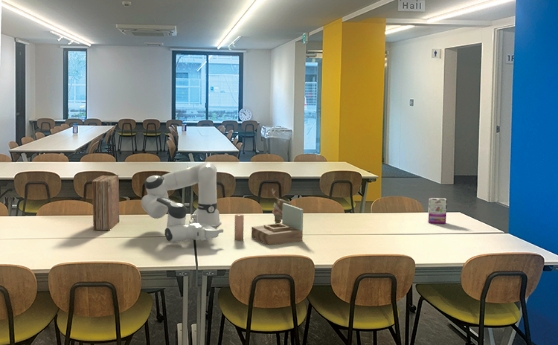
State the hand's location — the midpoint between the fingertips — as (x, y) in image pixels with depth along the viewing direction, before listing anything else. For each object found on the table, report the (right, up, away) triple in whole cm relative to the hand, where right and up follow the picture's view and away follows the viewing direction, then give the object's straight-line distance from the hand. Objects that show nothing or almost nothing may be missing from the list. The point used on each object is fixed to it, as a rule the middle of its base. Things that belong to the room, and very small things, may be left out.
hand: (219, 228), depth 303 cm
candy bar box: (+137, -3, +60) cm, 150 cm away
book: (-72, -2, +32) cm, 79 cm away
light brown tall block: (+10, -7, +7) cm, 14 cm away
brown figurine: (+33, -4, +35) cm, 48 cm away
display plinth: (+32, -7, +11) cm, 34 cm away
